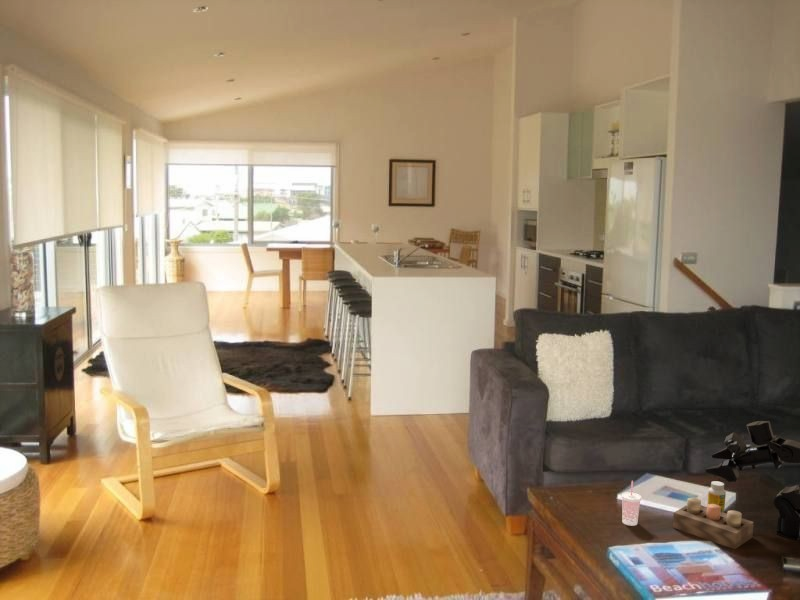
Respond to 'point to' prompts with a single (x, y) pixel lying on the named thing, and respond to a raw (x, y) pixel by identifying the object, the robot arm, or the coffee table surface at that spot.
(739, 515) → the maple plug near
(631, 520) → the beverage cup
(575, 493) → the coffee table surface
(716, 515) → the terracotta plug
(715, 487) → the supplement bottle
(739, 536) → the wooden compartment tray
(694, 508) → the maple plug far
